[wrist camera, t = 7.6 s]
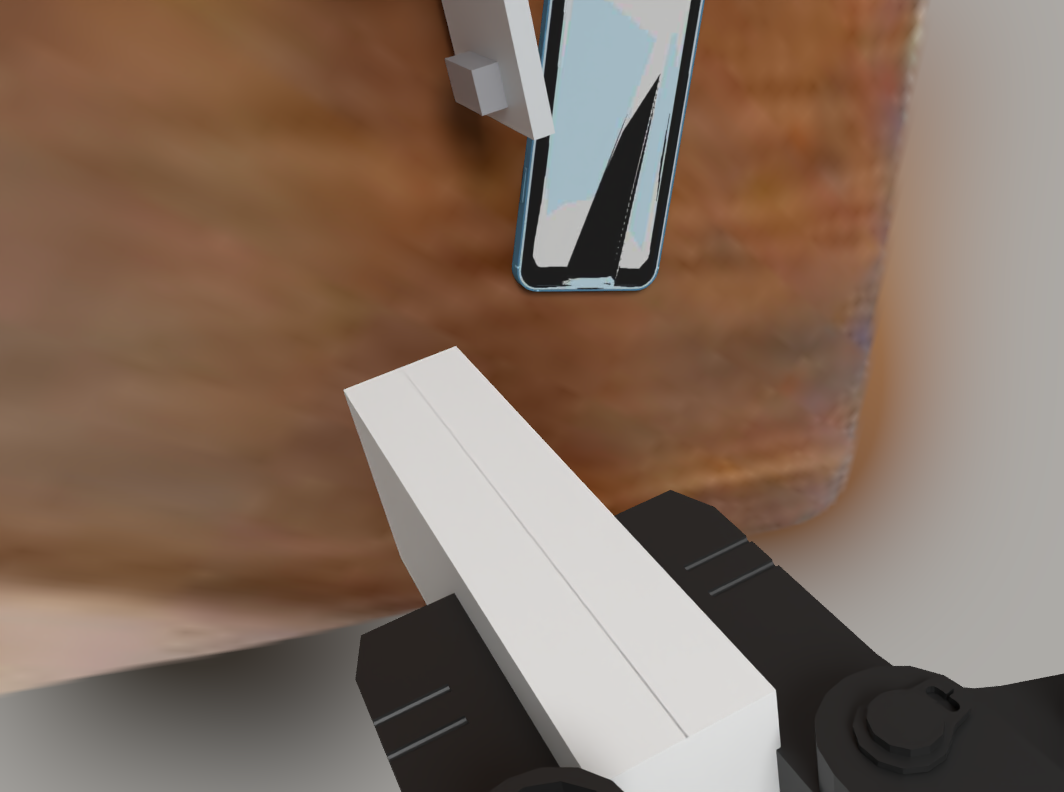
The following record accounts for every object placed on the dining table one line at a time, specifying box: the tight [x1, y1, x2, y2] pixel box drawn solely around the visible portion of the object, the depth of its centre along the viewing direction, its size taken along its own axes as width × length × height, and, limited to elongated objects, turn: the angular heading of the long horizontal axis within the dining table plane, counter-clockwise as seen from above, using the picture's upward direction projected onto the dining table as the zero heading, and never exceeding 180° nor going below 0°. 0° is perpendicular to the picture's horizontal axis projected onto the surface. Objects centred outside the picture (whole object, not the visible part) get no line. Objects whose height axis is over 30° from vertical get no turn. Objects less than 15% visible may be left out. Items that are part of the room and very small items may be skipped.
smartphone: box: [512, 0, 705, 291], centre depth 44 cm, size 7×1×15 cm
